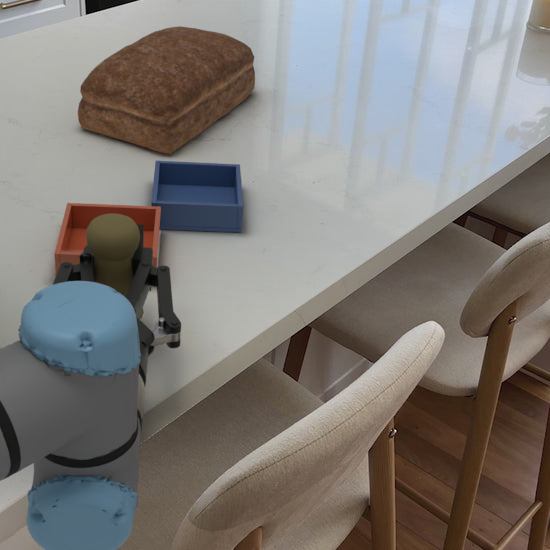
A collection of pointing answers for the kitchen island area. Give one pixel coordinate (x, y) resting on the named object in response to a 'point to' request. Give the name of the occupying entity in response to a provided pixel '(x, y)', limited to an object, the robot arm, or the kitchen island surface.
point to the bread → (167, 87)
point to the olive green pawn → (113, 250)
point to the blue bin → (198, 196)
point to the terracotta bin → (83, 214)
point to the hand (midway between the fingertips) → (121, 234)
